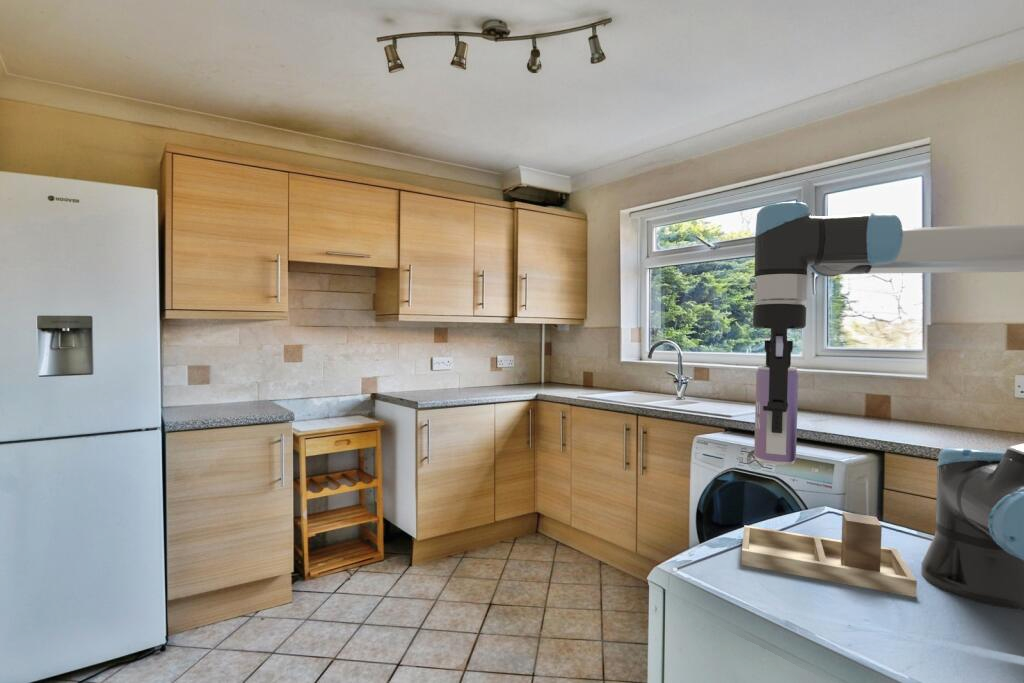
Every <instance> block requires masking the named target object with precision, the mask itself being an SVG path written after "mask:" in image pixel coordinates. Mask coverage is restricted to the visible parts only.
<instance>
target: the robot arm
mask: <svg viewBox="0 0 1024 683" xmlns="http://www.w3.org/2000/svg"><path fill="white" fill-rule="evenodd" d="M808 269H809V270H810V271H811V272H812V273H814V274H815V275H817V276H819V277H820V276H821V277H830V278H831V277H837V276H840V275H863V274H940V273H941V274H949V273H951V274H952V273H953V274H954V273H957V274H958V273H960V274H963V273H967V274H968V273H972V274H973V273H1024V223H1023V224H1022V223H1019V224H1018V223H1017V224H990V225H986V224H985V225H963V226H960V225H959V226H935V227H934V226H932V227H931V226H930V227H906V228H905V227H903V225H902V221H901V219H900V218H899V216H898V215H895V214H893V213H892V214H891V213H874V212H870V213H869V214H852V215H851V214H850V215H832V216H827V215H826V216H816V215H814V216H813V215H812V216H811V212H810V207H809V205H807V204H806V203H805V202H804V203H803V202H793V201H788V202H787V201H786V202H785V201H782V202H777V203H771V204H768V205H765V206H764V207H762V208H760V209H759V211H758V212H757V214H756V222H755V236H754V274H753V275H754V281H755V282H751V283H750V284H749V288H750V289H751V290H754V291H753V301H755V302H756V303H757V304H756V305H754V307H753V308H752V312H753V313H752V326H753V327H754V328H755V329H765V330H766V329H769V330H770V339H769V340H768V339H767V340H766V339H765V340H764V351H765V366H766V367H769V402H768V405H767V406H763V410H764V411H767V436H766V453H770V454H780V455H786V429H787V412H786V410H787V407H788V403H787V387H788V368H790V367H791V365H792V364H791V363H792V362H791V360H792V358H791V356H792V355H791V354H792V352H793V349H794V346H793V345H794V343H793V342H794V341H793V340H788V330H790V329H791V330H800V329H801V330H802V329H804V328H805V327H806V326H807V322H806V321H807V306H806V305H805V304H803V303H804V302H806V301H807V300H808ZM935 467H936V470H937V471H936V472H937V474H936V475H937V476H936V504H935V506H936V508H935V509H936V511H935V512H936V513H935V514H936V515H935V517H936V518H935V534H934V536H933V539H932V540H931V542H930V545H929V547H928V549H927V551H926V553H925V555H924V557H923V560H922V562H921V565H920V566H921V567H920V569H921V570H920V573H921V576H922V577H923V578H924V579H925V581H927V582H929V583H930V584H931V585H933V586H935V587H937V588H939V589H941V590H943V591H946V592H947V593H950V594H953V595H954V596H955V595H956V596H958V597H961V598H964V599H968V600H969V601H974V602H978V603H981V604H986V605H990V606H996V607H1002V608H1007V609H1008V608H1009V609H1017V610H1019V609H1020V610H1021V611H1023V612H1024V443H1018V444H1014V445H1010V446H1008V448H1007V449H1006V450H1005V451H1001V450H991V449H990V450H989V449H979V448H978V449H977V448H962V447H945V448H943V449H941V450H940V451H939V454H938V461H937V464H936V466H935Z"/></svg>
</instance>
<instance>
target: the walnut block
mask: <svg viewBox="0 0 1024 683" xmlns="http://www.w3.org/2000/svg"><path fill="white" fill-rule="evenodd" d="M882 529H883V526H882V524H881V522H880V521H879V519H878V518H877V516H874V515H873V516H872V515H868V514H867V515H866V514H860V513H851V512H842V521H841V541H842V545H841V564H842V566H848V567H853V568H859V569H865V570H871V571H876V572H880V561H881V547H882Z"/></svg>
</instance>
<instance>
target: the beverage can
mask: <svg viewBox="0 0 1024 683" xmlns="http://www.w3.org/2000/svg"><path fill="white" fill-rule="evenodd" d="M757 368H758V369H757V371H756V375H755V376H756V378H755V380H756V381H755V408H754V409H755V411H754V412H755V413H754V414H755V416H754V417H755V418H754V447H753V448H754V449H753V450H754V451H753V455H754V457H755V459H756V460H757V461H758V462H761V463H762V464H763V463H764V464H768V465H777V466H790V465H791V466H792V465H793V464H795V461H796V460H797V435H798V434H797V432H798V430H797V429H798V428H797V427H798V401H799V400H798V399H799V398H798V397H799V395H798V394H799V372H798V368H797V367H793V366H790V368H788V387H787V403H788V407H787V410H786V412H787V429H786V455H780V454H770V453H766V436H767V411H764V410H763V406H767V405H768V402H769V367H766V365H758V366H757Z"/></svg>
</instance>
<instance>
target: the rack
mask: <svg viewBox="0 0 1024 683" xmlns="http://www.w3.org/2000/svg"><path fill="white" fill-rule="evenodd" d="M741 545H742V546H741V565H742V566H747V567H751V568H757V569H762V570H768V571H772V572H779V573H785V574H790V575H796V576H801V577H805V578H811V579H817V580H822V581H828V582H831V583H832V582H833V583H839V584H845V585H850V586H852V587H853V586H854V587H860V588H865V589H869V590H875V591H880V592H887V593H892V594H898V595H902V596H903V595H904V596H908V597H914V598H917V590H918V589H917V587H918V586H917V584H918V581H917V578H916V577H915V575H914V574H913V572H912V571H911V570H910V568H909V567H908V565H907V563H906V562H905V560H904V558H903V557H902V555H901V554H900V552H899V550H898V549H897V548H891V547H885V546H881V561H880V572H876V571H871V570H865V569H859V568H853V567H848V566H842V564H841V545H842V539H834V538H829V537H823V536H822V537H821V536H814V535H808V534H802V533H795V532H789V531H784V530H777V529H771V528H770V529H769V528H764V527H759V526H758V527H757V526H753V525H752V526H751V525H745V524H744V526H743V535H742V544H741Z"/></svg>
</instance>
